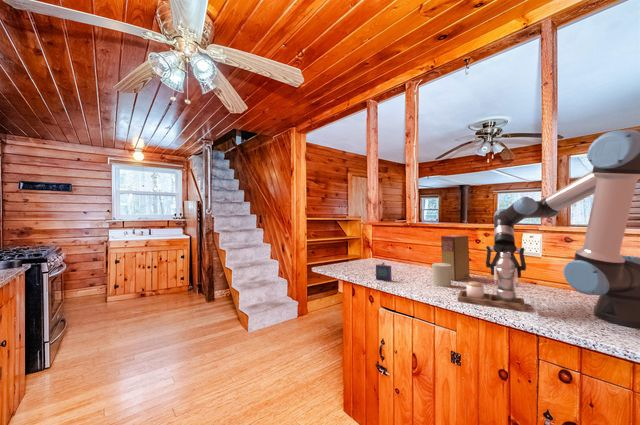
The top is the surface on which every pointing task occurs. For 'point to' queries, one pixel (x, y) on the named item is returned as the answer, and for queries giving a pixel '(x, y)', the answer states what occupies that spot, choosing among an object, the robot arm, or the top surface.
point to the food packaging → (456, 255)
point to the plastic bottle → (505, 278)
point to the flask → (383, 272)
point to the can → (441, 274)
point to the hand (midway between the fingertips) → (505, 282)
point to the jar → (475, 290)
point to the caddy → (493, 301)
